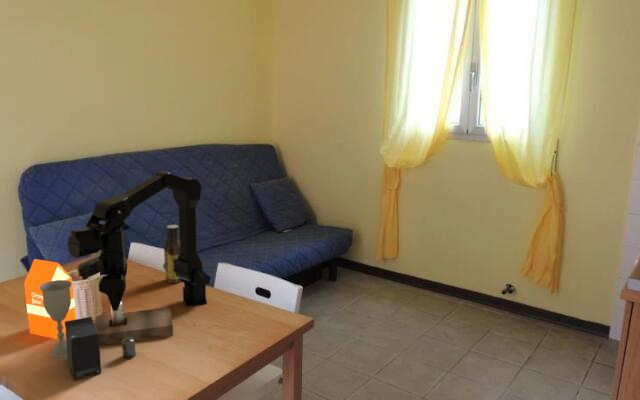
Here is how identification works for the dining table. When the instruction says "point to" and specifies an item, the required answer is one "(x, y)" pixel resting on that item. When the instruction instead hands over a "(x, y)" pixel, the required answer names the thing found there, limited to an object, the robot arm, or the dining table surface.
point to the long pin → (117, 316)
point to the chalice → (57, 309)
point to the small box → (82, 348)
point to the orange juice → (35, 307)
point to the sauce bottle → (171, 252)
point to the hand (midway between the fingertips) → (116, 303)
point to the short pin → (128, 347)
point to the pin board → (135, 326)
